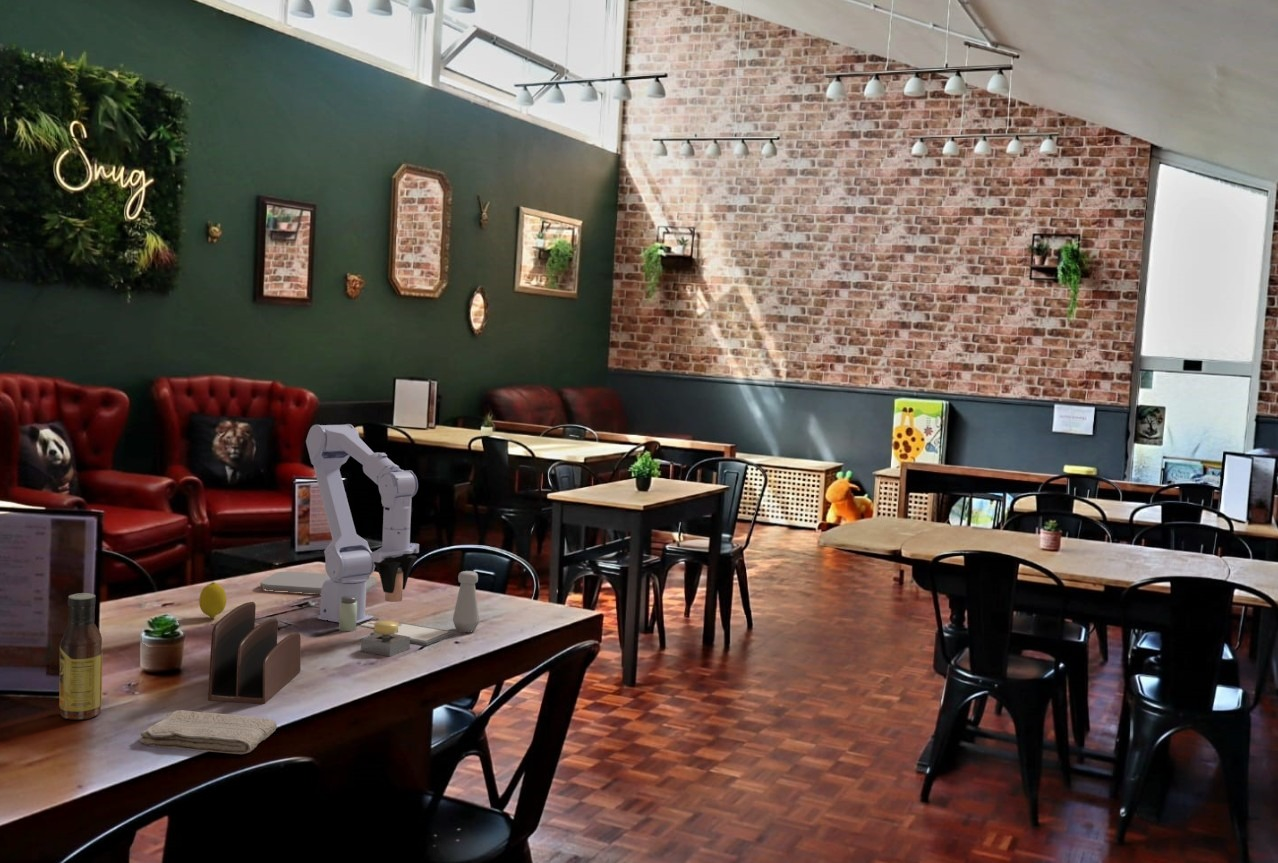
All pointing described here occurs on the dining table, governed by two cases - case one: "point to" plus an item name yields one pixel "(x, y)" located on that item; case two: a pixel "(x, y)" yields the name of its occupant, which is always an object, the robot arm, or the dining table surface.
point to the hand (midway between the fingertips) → (394, 590)
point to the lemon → (212, 600)
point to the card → (369, 624)
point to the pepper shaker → (396, 588)
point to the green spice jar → (348, 613)
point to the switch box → (385, 644)
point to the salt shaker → (466, 603)
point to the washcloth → (209, 732)
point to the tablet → (302, 582)
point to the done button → (386, 628)
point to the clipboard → (422, 633)
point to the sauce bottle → (80, 661)
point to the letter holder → (250, 658)
